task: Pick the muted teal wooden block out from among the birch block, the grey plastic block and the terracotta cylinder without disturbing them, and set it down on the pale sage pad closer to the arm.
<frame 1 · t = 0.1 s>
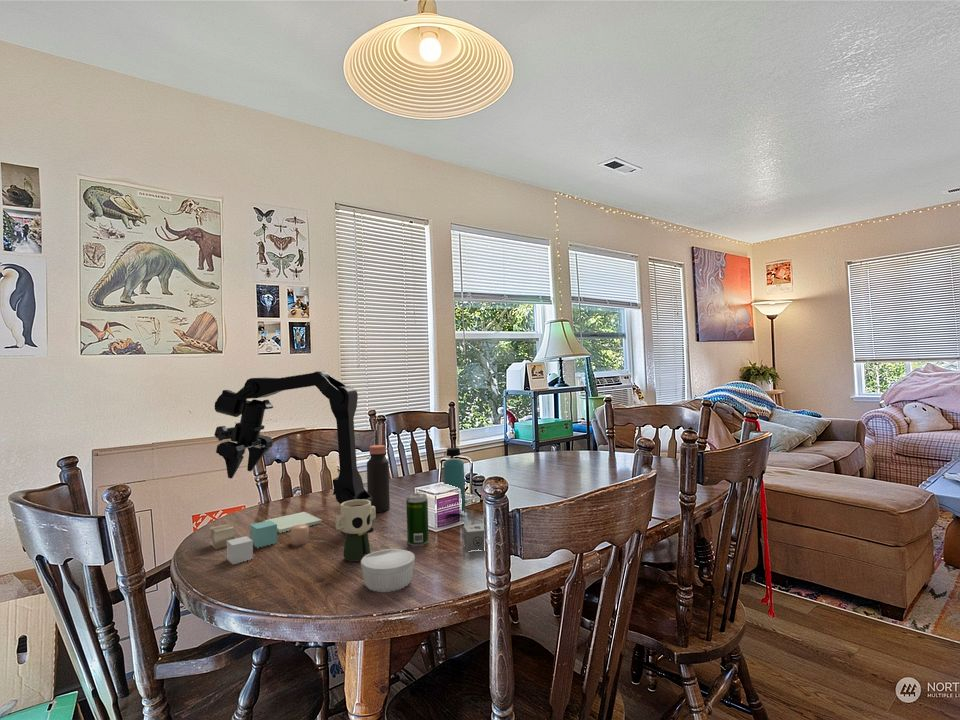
hand: (239, 474, 144), 15 cm above the table, tool pointing down, fingers open, 9 cm apart
teal block: (264, 543, 131), on the table
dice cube: (475, 549, 124), on the table
character mug: (357, 559, 119), on the table
terracotta cylinder: (299, 542, 131), on the table
birch block: (222, 545, 131), on the table
beer can: (418, 543, 128), on the table
beverage bottle: (455, 515, 152), on the table
ramekin: (388, 584, 105), on the table
sage pad: (292, 523, 147), on the table
dark water bottle: (378, 510, 160), on the table
grey plastic block: (239, 559, 121), on the table
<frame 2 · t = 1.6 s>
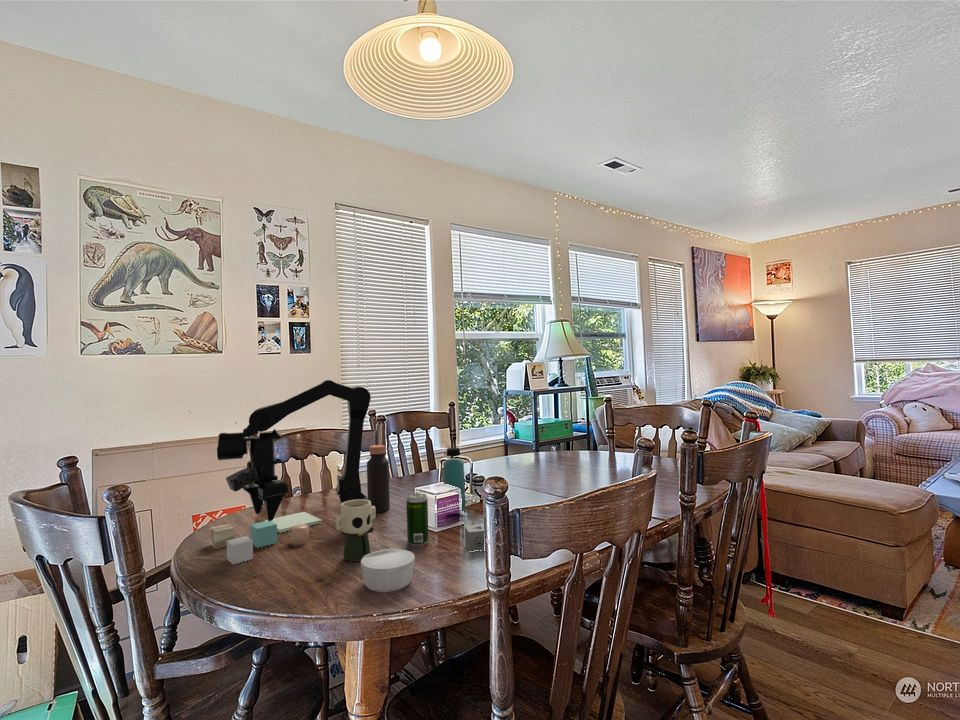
hand: (263, 517, 131), 7 cm above the table, tool pointing down, fingers open, 9 cm apart
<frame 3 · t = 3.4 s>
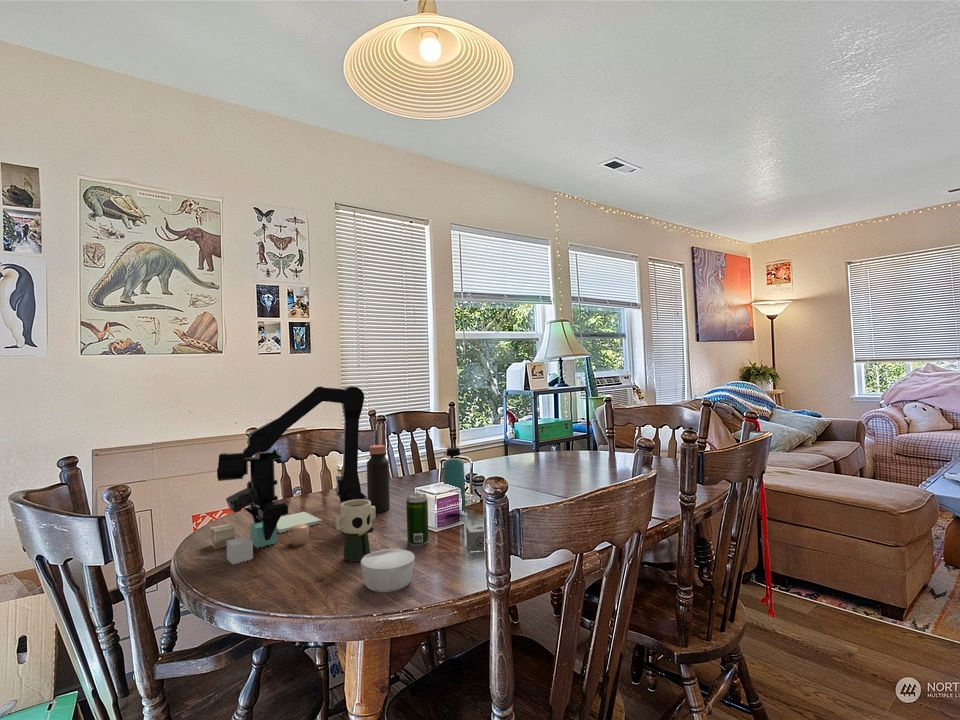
hand: (263, 537, 131), 2 cm above the table, tool pointing down, fingers closed on teal block, 5 cm apart
teal block: (263, 543, 131), on the table, touching gripper
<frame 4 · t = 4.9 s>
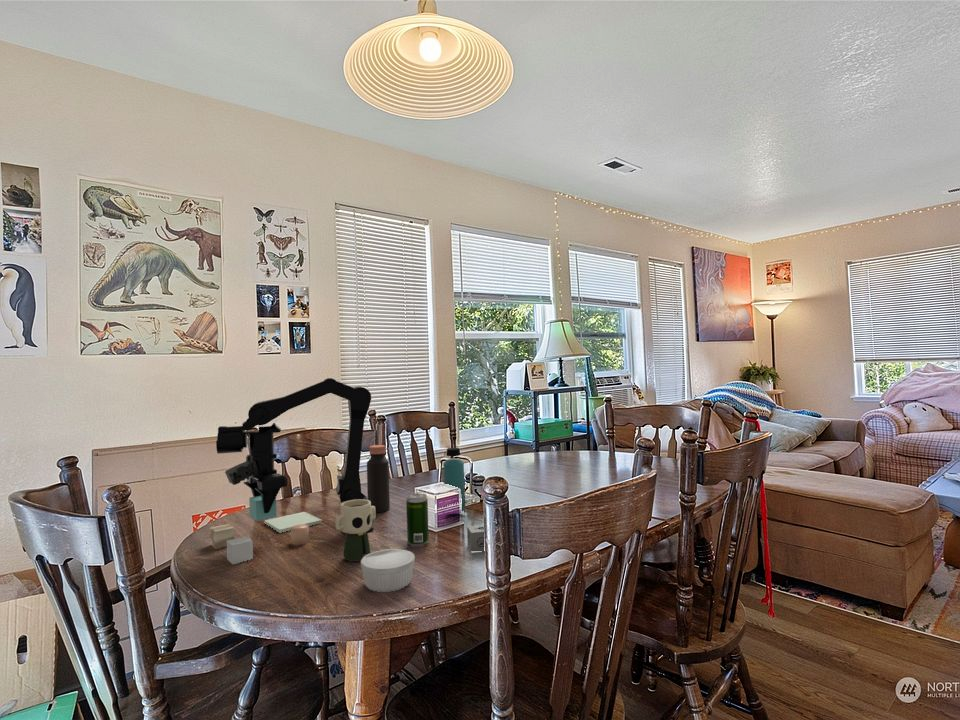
hand: (262, 510, 131), 8 cm above the table, tool pointing down, fingers closed on teal block, 5 cm apart
teal block: (263, 516, 131), point 7 cm above the table, touching gripper
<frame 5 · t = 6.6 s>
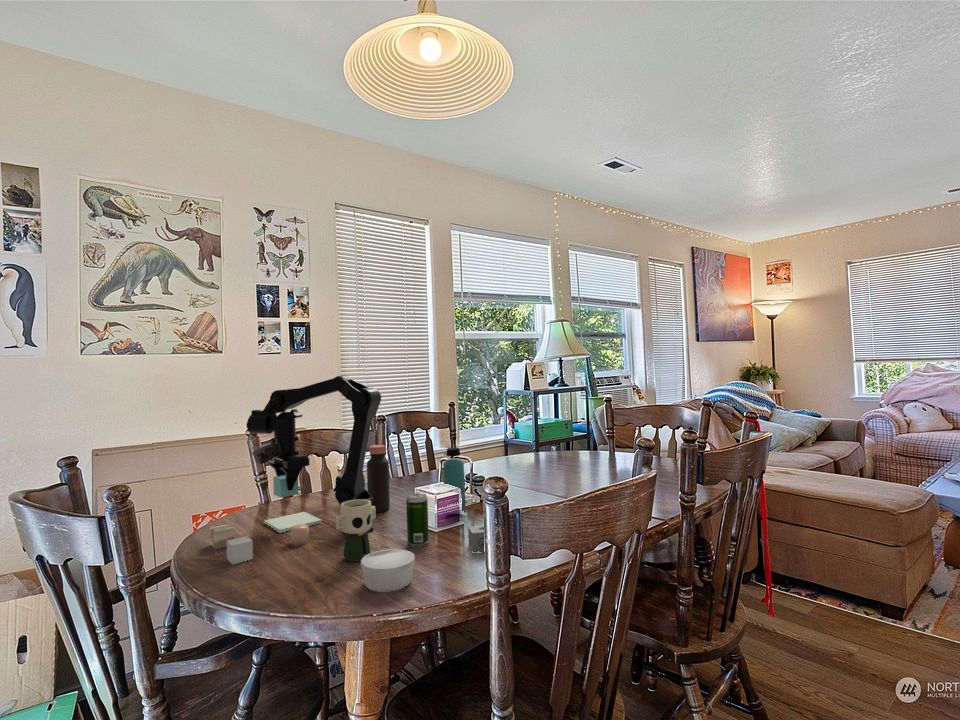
hand: (286, 488, 144), 11 cm above the table, tool pointing down, fingers closed on teal block, 5 cm apart
teal block: (286, 494, 144), point 9 cm above the table, touching gripper
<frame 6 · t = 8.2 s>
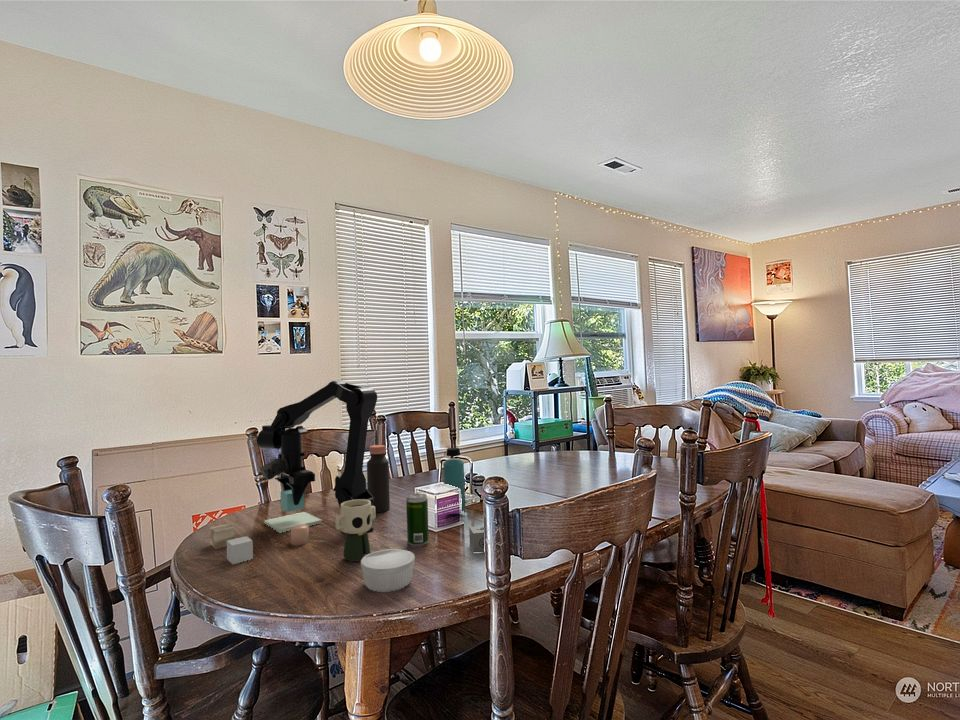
hand: (292, 503, 147), 6 cm above the table, tool pointing down, fingers closed on teal block, 5 cm apart
teal block: (292, 508, 147), point 4 cm above the table, touching gripper
when the fingers open (4 cm above the table, at t = 9.8 s): teal block drops 1 cm, resting on sage pad.
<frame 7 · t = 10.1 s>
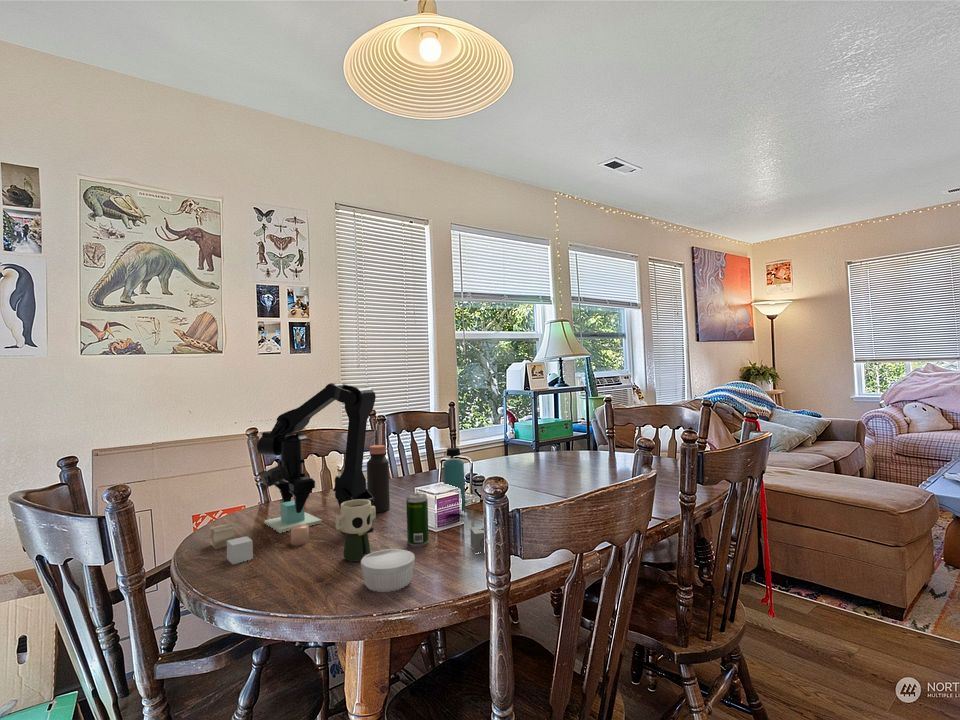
hand: (292, 509, 147), 4 cm above the table, tool pointing down, fingers open, 8 cm apart
teal block: (292, 520, 147), point 1 cm above the table, touching sage pad
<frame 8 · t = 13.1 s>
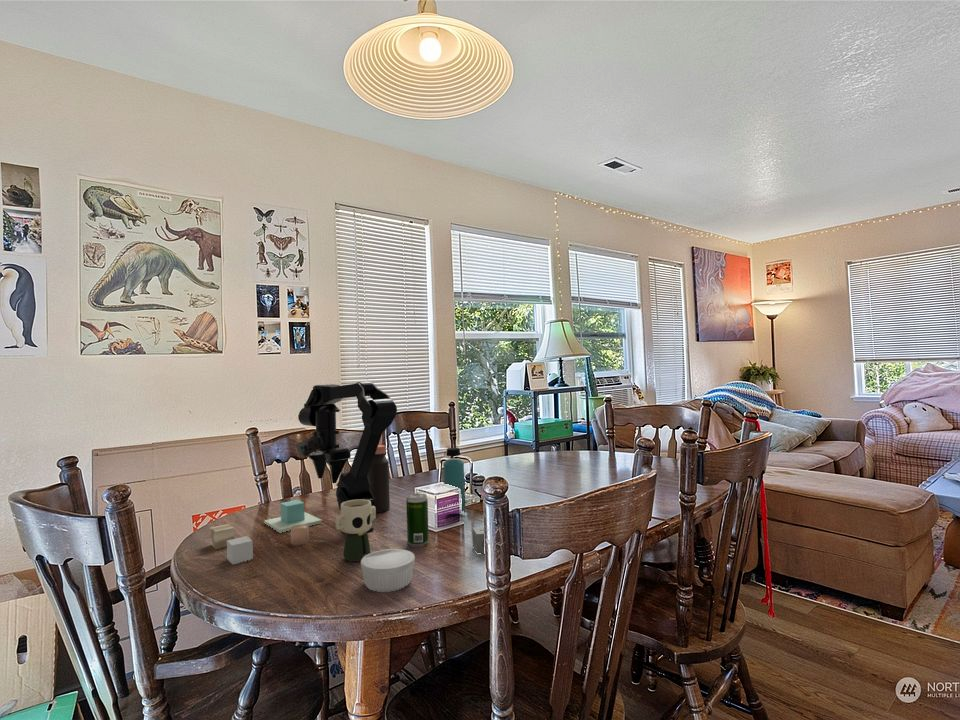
hand: (327, 480, 148), 12 cm above the table, tool pointing down, fingers open, 9 cm apart
at the end: teal block inside the target area on the sage pad (0.0 cm from its centre), point 1.0 cm above the sage pad's base; the gripper is holding nothing; terracotta cylinder moved 0.1 cm from its start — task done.
